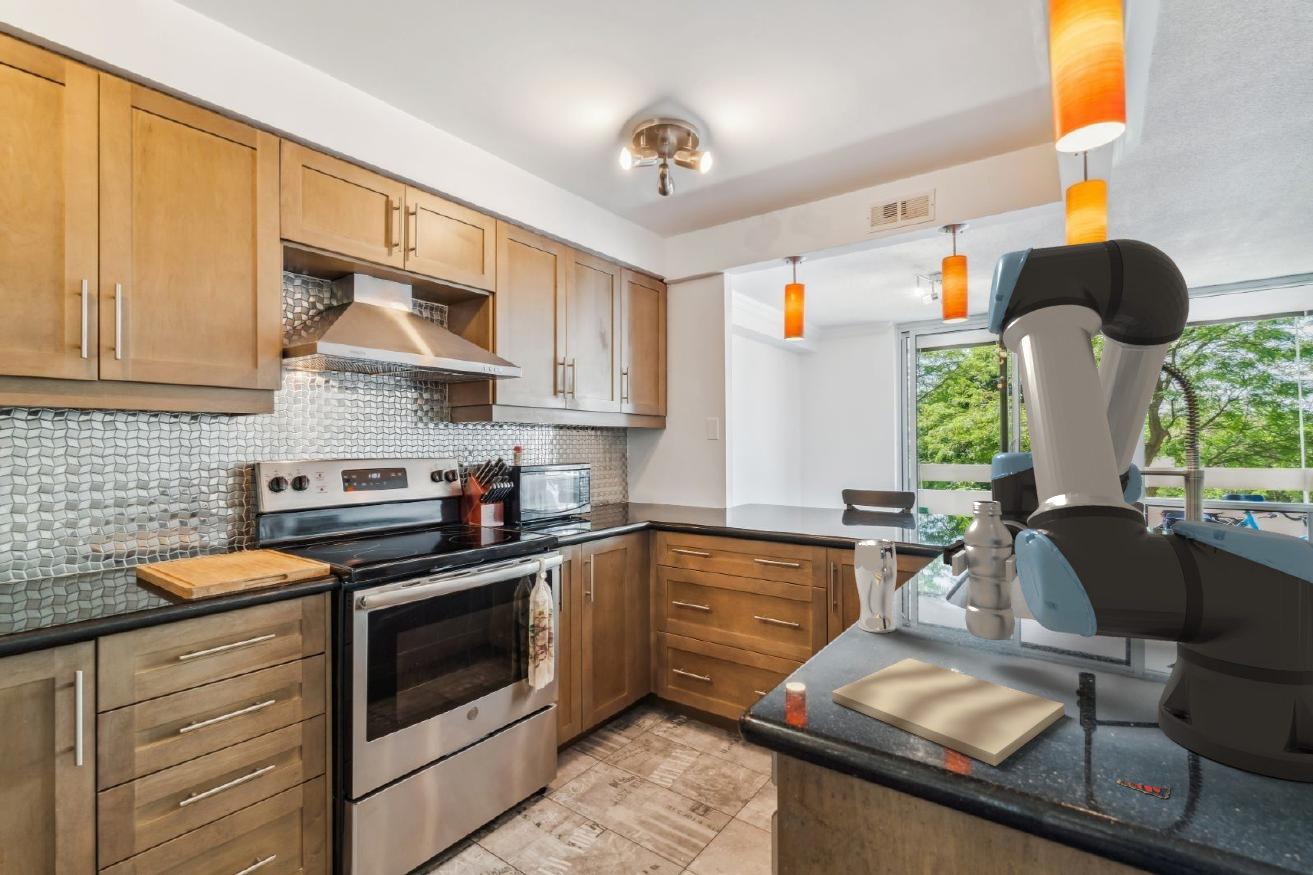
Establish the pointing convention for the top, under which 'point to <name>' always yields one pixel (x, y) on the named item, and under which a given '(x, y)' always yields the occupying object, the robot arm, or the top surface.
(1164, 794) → the red brown flat piece
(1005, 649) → the top surface
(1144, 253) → the robot arm
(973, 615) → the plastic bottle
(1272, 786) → the top surface
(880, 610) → the beer glass
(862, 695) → the birch board
